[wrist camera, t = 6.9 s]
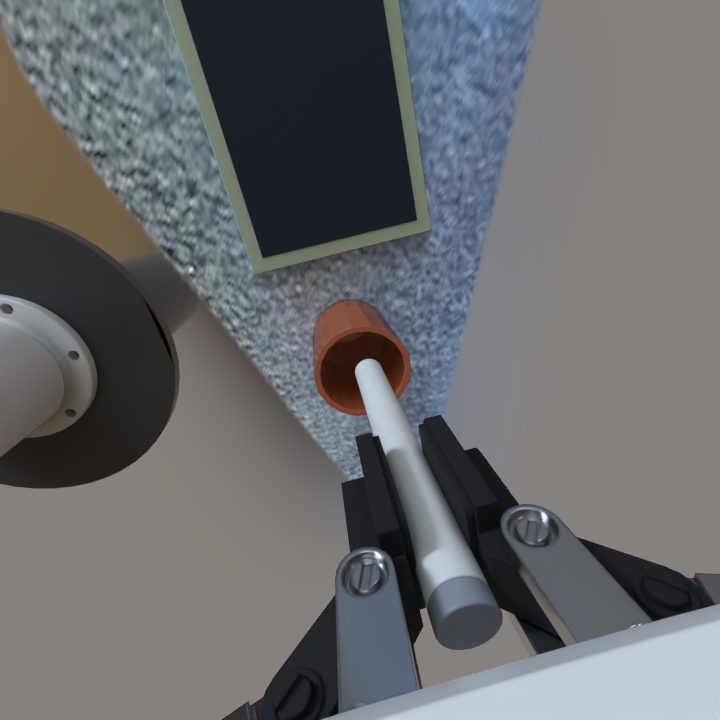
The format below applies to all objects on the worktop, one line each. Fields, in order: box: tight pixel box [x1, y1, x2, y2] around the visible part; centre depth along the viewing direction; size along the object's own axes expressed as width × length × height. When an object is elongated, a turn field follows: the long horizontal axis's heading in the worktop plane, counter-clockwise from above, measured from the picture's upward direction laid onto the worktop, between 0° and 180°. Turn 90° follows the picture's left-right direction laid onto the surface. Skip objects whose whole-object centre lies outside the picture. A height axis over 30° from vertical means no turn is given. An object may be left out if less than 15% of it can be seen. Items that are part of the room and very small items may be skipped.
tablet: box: [163, 0, 431, 274], centre depth 25 cm, size 14×18×1 cm
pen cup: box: [313, 300, 411, 416], centre depth 28 cm, size 6×6×8 cm
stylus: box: [355, 359, 502, 650], centre depth 13 cm, size 1×1×13 cm
